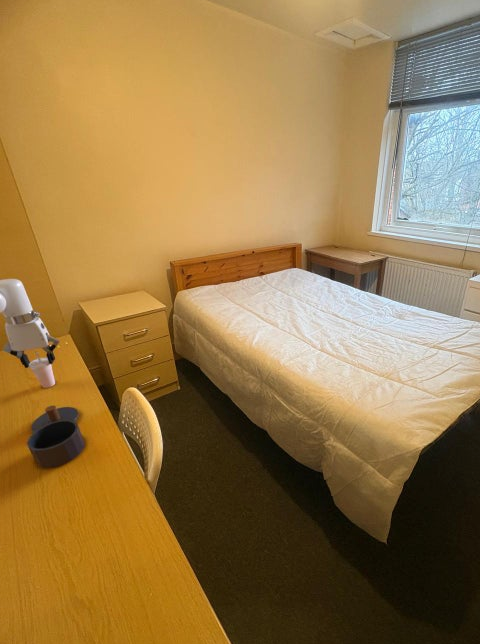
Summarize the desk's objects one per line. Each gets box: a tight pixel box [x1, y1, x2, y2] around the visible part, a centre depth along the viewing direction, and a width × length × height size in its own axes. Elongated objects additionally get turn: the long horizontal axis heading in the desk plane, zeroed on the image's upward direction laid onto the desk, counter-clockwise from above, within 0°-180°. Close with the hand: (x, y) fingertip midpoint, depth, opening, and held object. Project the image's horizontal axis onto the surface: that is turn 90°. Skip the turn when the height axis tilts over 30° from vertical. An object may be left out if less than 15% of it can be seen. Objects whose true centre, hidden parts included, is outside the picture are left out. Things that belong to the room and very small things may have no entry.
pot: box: [26, 420, 86, 469], centre depth 88 cm, size 11×11×6 cm
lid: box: [30, 404, 80, 434], centre depth 98 cm, size 12×12×6 cm
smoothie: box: [28, 351, 56, 389], centre depth 113 cm, size 6×6×14 cm
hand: (40, 363), depth 112 cm, fingers closed on smoothie, 6 cm apart
